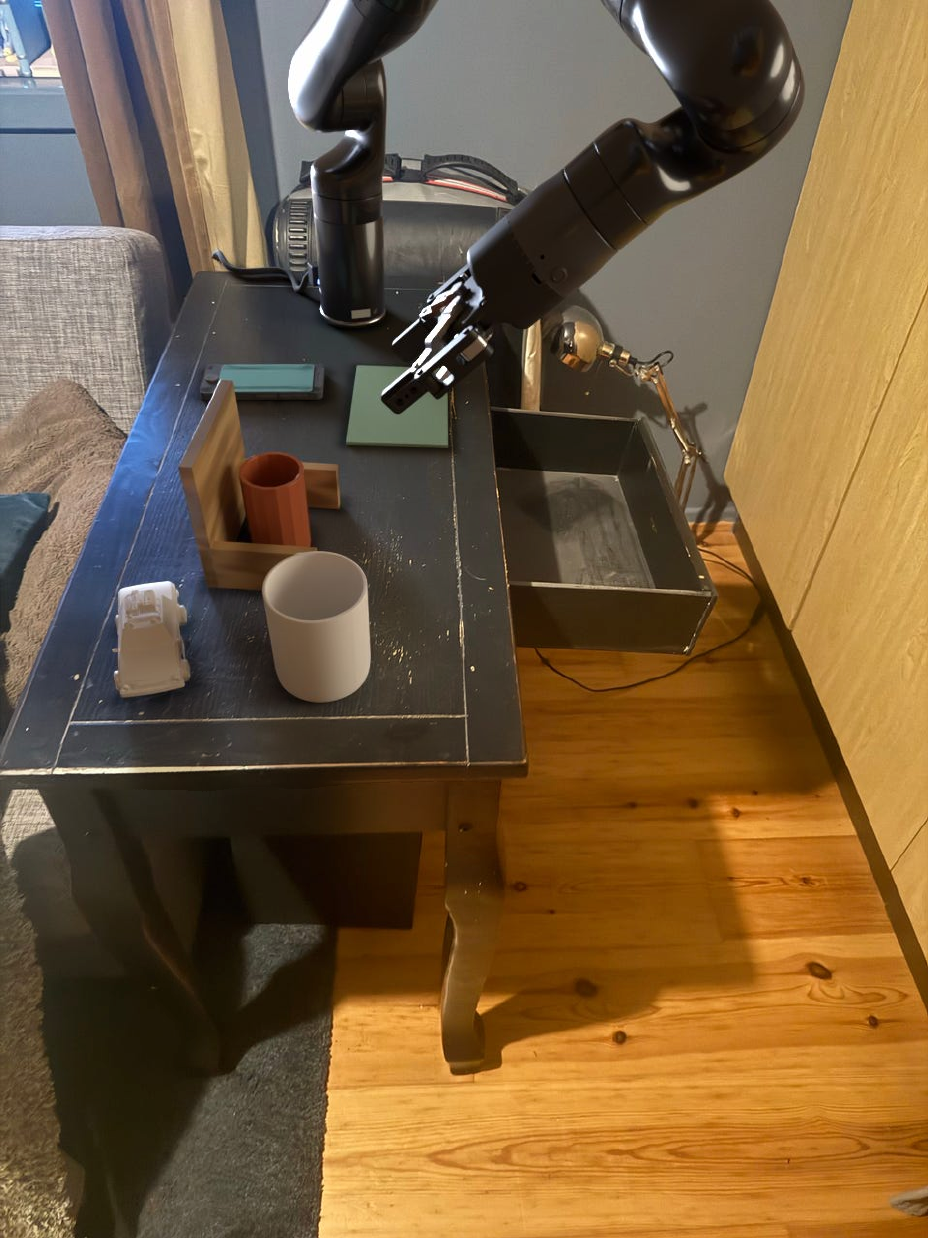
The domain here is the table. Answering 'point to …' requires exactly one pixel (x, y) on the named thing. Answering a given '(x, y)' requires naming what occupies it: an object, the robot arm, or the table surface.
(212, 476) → the cubby
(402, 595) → the table surface
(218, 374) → the smartphone
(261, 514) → the cup
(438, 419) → the mat
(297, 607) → the mug
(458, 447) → the table surface
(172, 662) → the toy car
